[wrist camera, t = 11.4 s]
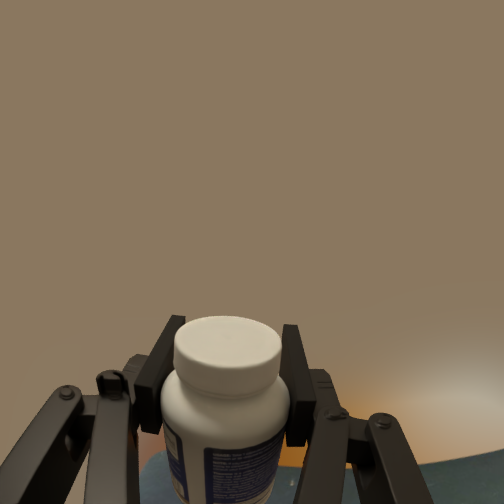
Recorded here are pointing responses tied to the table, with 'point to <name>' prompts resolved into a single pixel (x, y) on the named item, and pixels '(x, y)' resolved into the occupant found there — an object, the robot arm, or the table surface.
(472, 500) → the table surface
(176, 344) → the pill bottle
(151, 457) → the table surface
